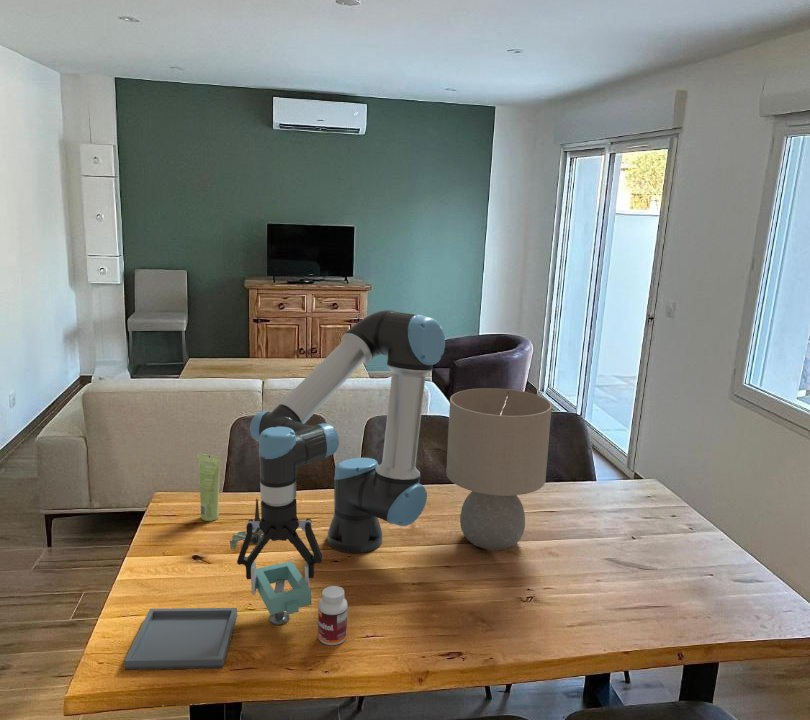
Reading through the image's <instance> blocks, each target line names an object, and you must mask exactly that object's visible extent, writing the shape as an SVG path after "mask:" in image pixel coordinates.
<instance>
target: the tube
mask: <svg viewBox="0 0 810 720" xmlns="http://www.w3.org/2000/svg"><path fill="white" fill-rule="evenodd" d="M221 459H222V457H221V456H217V455H211V454H205V453H201V452H200V453H199V452H198V453H197V462H198V476H199V479H198V480H199V493H200V495H199V496H200V518H201V520H202V521H204V522H212V521H216V520H218V518H220V516H219V515H220V514H219V512H220V511H219V509H220V508H219V507H220V506H219V505H220V504H219V502H220V499H219V498H220V473H221V472H220V471H221V462H222V461H221Z"/></svg>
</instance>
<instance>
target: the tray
mask: <svg viewBox="0 0 810 720" xmlns="http://www.w3.org/2000/svg"><path fill="white" fill-rule="evenodd" d="M237 618H238V607H201V608H200V607H197V608H195V607H191V608H190V607H189V608H188V607H186V608H185V607H184V608H183V607H181V608H178V607H177V608H176V607H175V608H173V607H172V608H150V609H149V610H148V612H147V614H146V615H145V618H144V620H143V622H142V624H141V625H140V626H141V627H140V628H139V630H138V632H137V634H136V636H135V638H134V641H133V642H132V644H131V646H130V648H129V651H128V652H127V654H126V657H125V658H124V660H123V662H124V663H123V666H124V667H123V668H124V670H125V671H134V670H136V671H137V670H138V671H140V670H189V669H190V670H191V669H192V670H193V669H223V668H224V665H225V662H226V659H227V654H228V651H229V647H230V643H231V639H232V636H233V633H234V630H235V625H236V621H237Z"/></svg>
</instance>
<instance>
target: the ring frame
mask: <svg viewBox="0 0 810 720" xmlns="http://www.w3.org/2000/svg"><path fill="white" fill-rule="evenodd" d="M256 579H257V589H256V591H257V593H258V594H259V596H260V598H261V599H262V601H263V604H264V606H265V608H266V609H267V611H268V614H269V616H270V615H272V614H276V613H280V612H286V613H287V614H288V615H289V616H290V615H292V614H295V613H299V612H300V611H299V610H300V609H299V608H304V607H308V606H310V605H312V589H311V587H310V585H309V586H308V584H307V583H306V581H305V577H303V575H302V573H301V572H300V571H299V569H298V568H297V566H296V565H295V562H293V560H290V561H286V562H281V563H275V564H272V565H268V566H267V565H266V566H263V567H262V566H261V567H258V568H257V567H256ZM277 579H285V581H287V582H288V583H289V585H290V587H291V588H292V589H290V590H286V591H285V590H284V592H281V593H275V591H274V590H275V589H274V588H273V586H272V585H271V584H276V580H277Z"/></svg>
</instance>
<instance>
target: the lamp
mask: <svg viewBox="0 0 810 720" xmlns="http://www.w3.org/2000/svg"><path fill="white" fill-rule="evenodd" d="M552 408H553V407H552V403H551V402H550V401H549V400H548V399H547V398H544V397H542V396H540V395H537V394H535V393H530V392H527V391H523V390H518V389H517V390H516V389H507V388H497V387H495V388H488V387H487V388H486V387H485V388H481V387H480V388H472V389H465V390H461V391H458V392H456V393H454V394H452V395H451V396H450V397H449V410H448V411H449V413H448V414H449V415H448V429H447V430H448V431H447V435H448V436H447V453H446V471H445V472H446V477H447V478H448V480H449V481H450V482H451V483H453V484H454V485H456V486H458V487H460V488H462V489H465V490H467V491H471V492H469V494H468V495H466V498H465V499H464V502H463V504H462V507H461V511H460V515H459V523H460V529H461V532H462V535H464V537H465V538H466V540H468V541H469V543H471V544H473V545H474V546H476V547H477V548H480V549H483V550H488V551H502V550H506V549H510V548H512V547H513V546H515V545H516V544H517V543H519V541H521V539H522V538H523V535H524V532H525V528H526V513H525V509H524V506H523V503H522V501H521V499H520V498H519V497H518V496H521V495H527V494H530V493H533V492H536V491H538V490H540V489H542V488H543V487H544V486H545V484H546V478H547V476H546V475H547V464H548V452H549V440H550V430H551V418H552Z"/></svg>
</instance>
